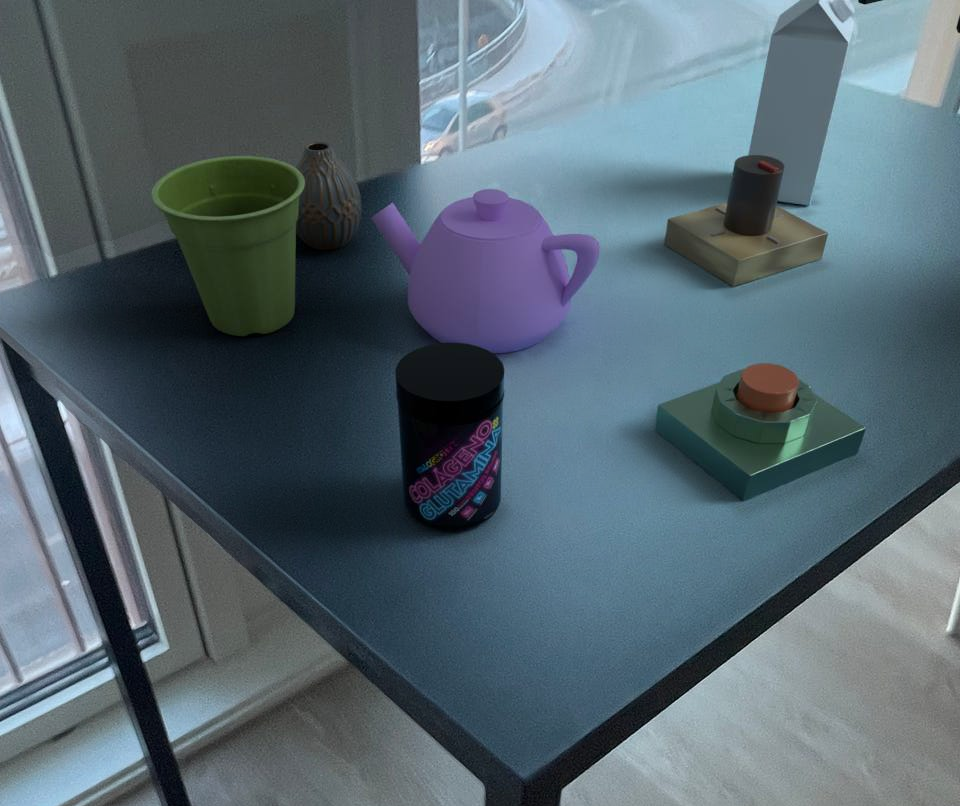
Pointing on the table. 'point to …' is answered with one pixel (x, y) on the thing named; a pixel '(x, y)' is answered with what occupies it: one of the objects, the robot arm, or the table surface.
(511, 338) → the teapot
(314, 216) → the vase
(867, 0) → the robot arm
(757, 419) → the button housing
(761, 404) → the push button
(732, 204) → the dial
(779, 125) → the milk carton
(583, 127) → the table surface
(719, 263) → the dial panel
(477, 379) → the supplement container
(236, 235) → the plant pot
